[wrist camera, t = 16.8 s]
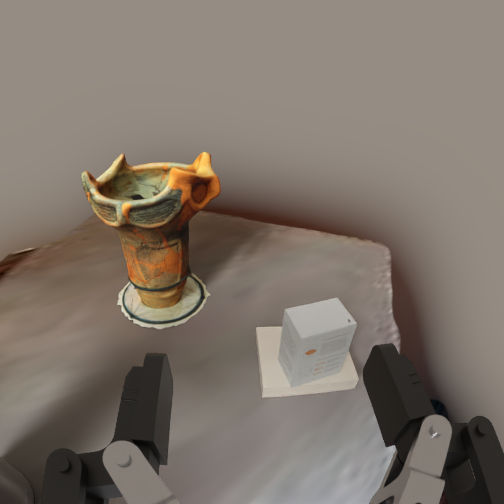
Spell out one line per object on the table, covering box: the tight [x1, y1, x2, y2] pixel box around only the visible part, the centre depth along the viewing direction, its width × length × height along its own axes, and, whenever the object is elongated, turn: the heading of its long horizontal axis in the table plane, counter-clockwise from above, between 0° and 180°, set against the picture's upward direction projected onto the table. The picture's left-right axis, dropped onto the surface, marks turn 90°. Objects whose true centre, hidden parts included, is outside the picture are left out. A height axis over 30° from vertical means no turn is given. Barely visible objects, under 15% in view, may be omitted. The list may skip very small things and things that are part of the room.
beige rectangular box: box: [256, 326, 359, 398], centre depth 47 cm, size 14×12×2 cm
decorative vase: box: [81, 152, 221, 329], centre depth 53 cm, size 21×23×28 cm
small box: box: [278, 297, 357, 388], centre depth 41 cm, size 8×6×10 cm
